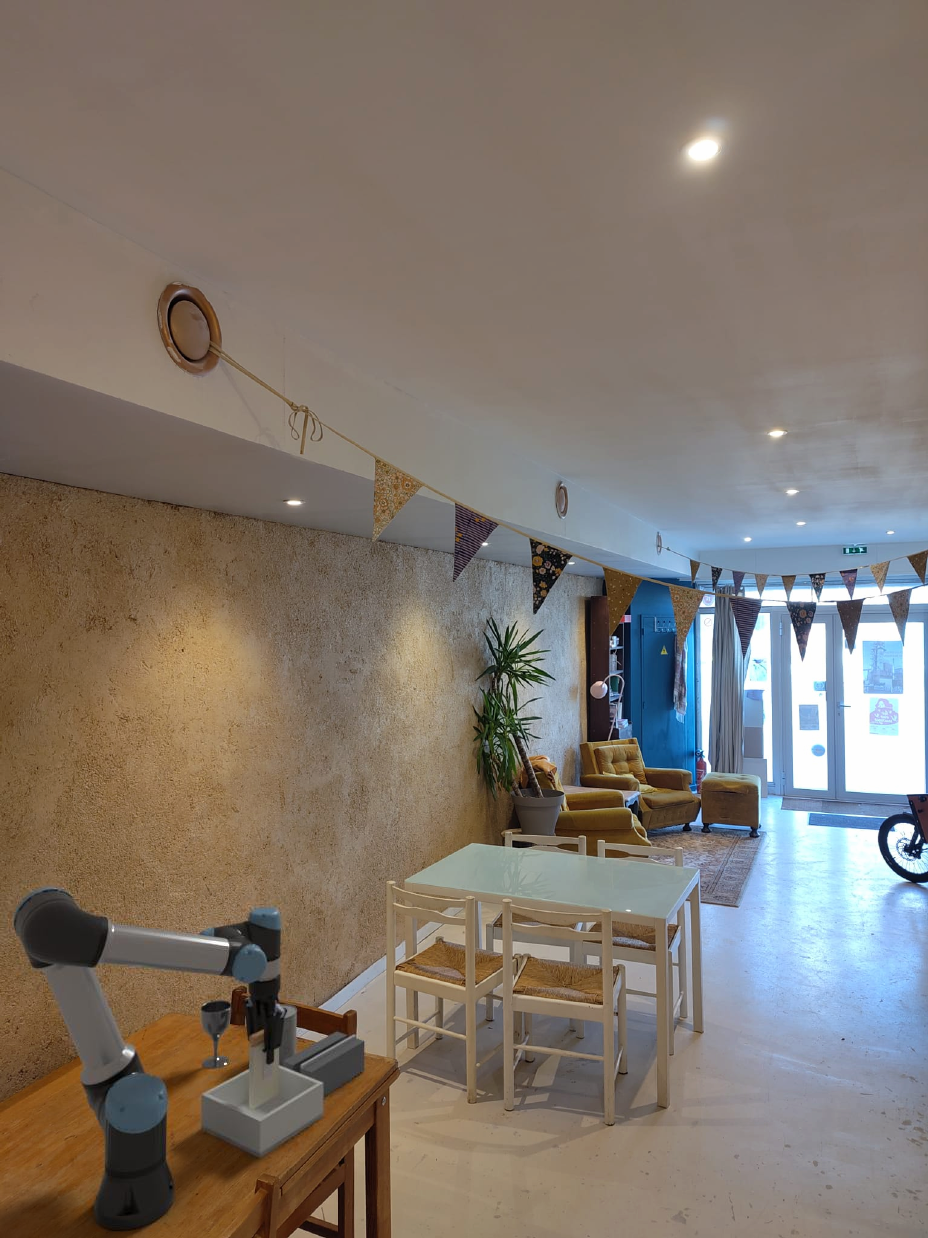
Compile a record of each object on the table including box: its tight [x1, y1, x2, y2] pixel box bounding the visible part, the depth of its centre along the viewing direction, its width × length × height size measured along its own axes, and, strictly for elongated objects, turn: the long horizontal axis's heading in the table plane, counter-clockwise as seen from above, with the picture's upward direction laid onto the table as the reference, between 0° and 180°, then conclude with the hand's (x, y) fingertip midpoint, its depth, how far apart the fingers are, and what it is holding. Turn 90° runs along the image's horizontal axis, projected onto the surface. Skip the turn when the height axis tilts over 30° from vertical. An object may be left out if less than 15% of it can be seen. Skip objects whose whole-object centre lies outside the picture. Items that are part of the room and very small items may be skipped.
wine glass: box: [200, 999, 232, 1070], centre depth 227 cm, size 8×8×15 cm
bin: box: [200, 1065, 324, 1159], centre depth 198 cm, size 20×20×8 cm
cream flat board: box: [248, 1029, 279, 1109], centre depth 198 cm, size 8×2×16 cm, turn 146°
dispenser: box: [282, 1031, 365, 1098], centre depth 217 cm, size 20×10×9 cm, turn 146°
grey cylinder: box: [279, 1003, 298, 1066], centre depth 230 cm, size 10×10×12 cm
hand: (264, 1075), depth 198 cm, fingers closed on cream flat board, 1 cm apart
